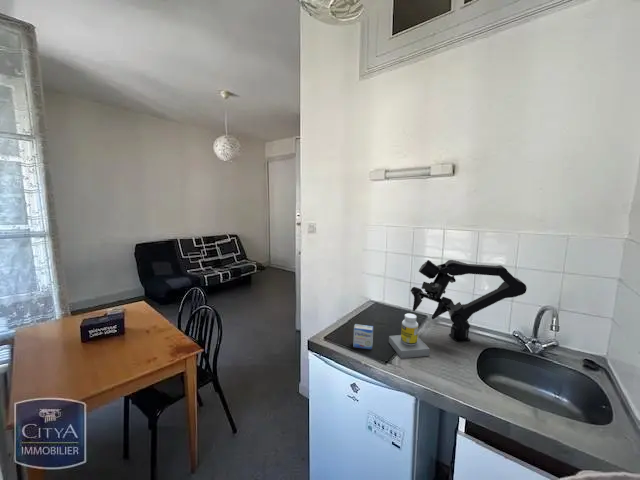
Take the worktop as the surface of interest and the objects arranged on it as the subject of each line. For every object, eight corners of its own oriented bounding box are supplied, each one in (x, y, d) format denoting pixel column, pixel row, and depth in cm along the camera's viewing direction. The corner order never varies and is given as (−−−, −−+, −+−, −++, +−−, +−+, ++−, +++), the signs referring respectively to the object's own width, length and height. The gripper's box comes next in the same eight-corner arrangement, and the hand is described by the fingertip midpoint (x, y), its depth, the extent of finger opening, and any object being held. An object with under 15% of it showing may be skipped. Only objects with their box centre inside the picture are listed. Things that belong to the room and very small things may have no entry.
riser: (414, 340, 123) (415, 334, 123) (429, 355, 112) (429, 348, 111) (388, 342, 122) (389, 336, 121) (400, 358, 110) (401, 351, 109)
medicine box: (353, 347, 118) (353, 328, 116) (354, 342, 122) (354, 323, 120) (372, 350, 116) (372, 330, 114) (372, 344, 120) (373, 325, 119)
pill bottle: (397, 339, 118) (399, 313, 116) (410, 336, 120) (411, 311, 118) (407, 347, 112) (409, 320, 110) (420, 344, 114) (422, 317, 113)
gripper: (414, 269, 126) (396, 298, 122) (454, 281, 111) (435, 313, 107) (423, 282, 132) (407, 310, 128) (462, 295, 117) (445, 326, 113)
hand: (422, 314), depth 119 cm, fingers open, 9 cm apart
